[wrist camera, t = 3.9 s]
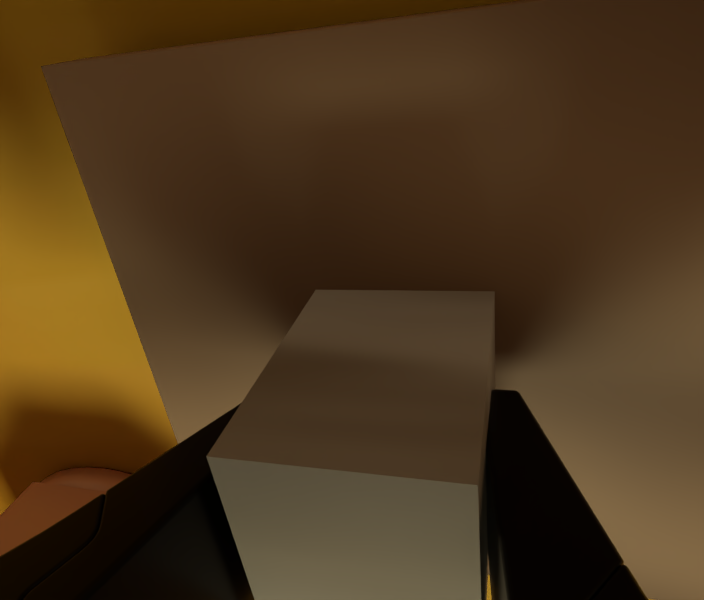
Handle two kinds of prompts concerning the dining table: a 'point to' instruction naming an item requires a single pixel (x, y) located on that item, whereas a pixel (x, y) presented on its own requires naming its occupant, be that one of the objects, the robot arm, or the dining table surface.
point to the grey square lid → (417, 276)
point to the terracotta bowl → (52, 502)
